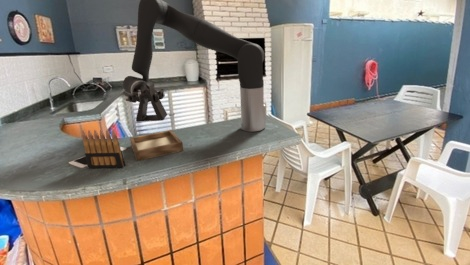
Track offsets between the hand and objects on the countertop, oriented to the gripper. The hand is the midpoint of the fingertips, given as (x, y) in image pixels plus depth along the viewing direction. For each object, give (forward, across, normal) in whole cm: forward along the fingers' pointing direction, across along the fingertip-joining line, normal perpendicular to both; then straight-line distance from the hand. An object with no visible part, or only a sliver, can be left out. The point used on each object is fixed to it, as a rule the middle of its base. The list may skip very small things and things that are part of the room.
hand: (150, 99), depth 79 cm
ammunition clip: (+5, -16, +18) cm, 25 cm away
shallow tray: (-2, 0, +18) cm, 18 cm away
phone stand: (-3, 0, +7) cm, 8 cm away
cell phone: (-6, -18, +18) cm, 27 cm away
